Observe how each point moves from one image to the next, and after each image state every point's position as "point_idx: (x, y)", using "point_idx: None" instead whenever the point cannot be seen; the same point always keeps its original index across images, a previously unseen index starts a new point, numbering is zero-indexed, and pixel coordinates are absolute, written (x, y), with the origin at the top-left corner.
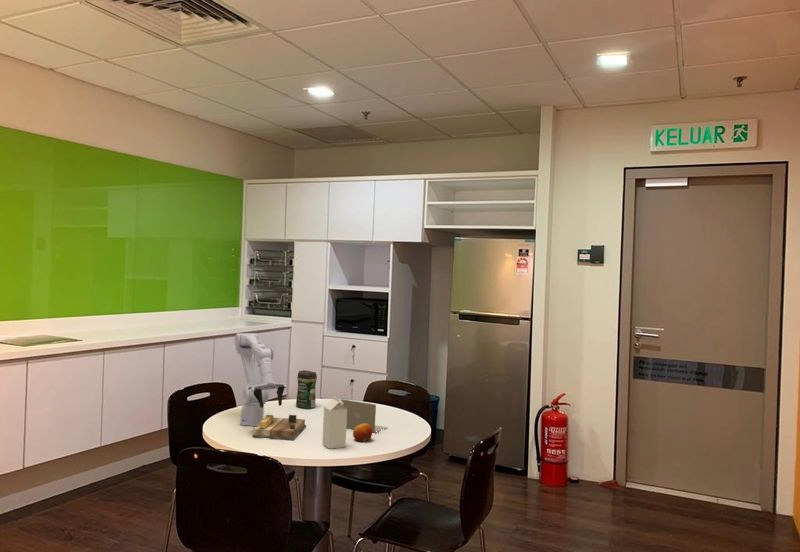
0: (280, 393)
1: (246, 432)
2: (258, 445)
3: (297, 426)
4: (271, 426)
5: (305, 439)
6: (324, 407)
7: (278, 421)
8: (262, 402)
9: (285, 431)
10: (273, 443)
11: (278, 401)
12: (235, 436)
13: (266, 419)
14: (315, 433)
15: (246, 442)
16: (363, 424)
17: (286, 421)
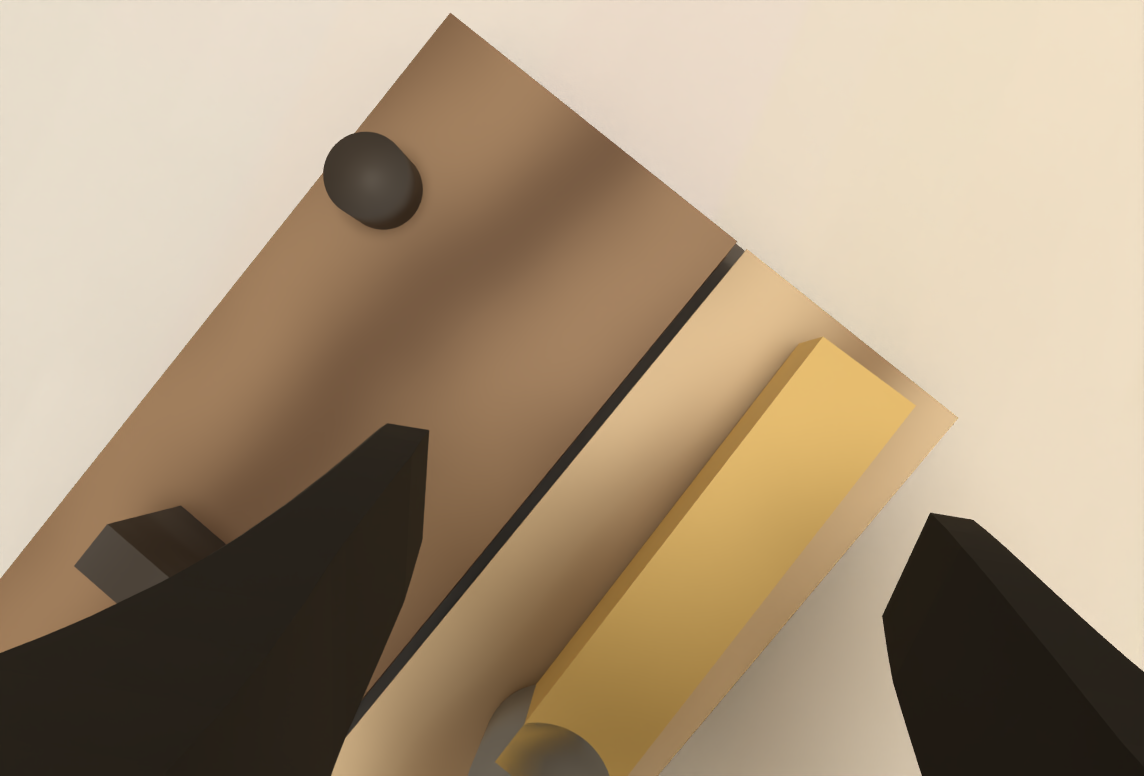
0: (252, 608)
1: (898, 730)
2: (1002, 20)
3: (256, 272)
4: (637, 449)
5: (309, 30)
6: None
7: (393, 716)
8: (995, 571)
9: (549, 93)
10: (778, 27)
11: (379, 653)
12: (1124, 593)
13: (714, 540)
14: (53, 252)
15: (1096, 229)
16: None
17: None
